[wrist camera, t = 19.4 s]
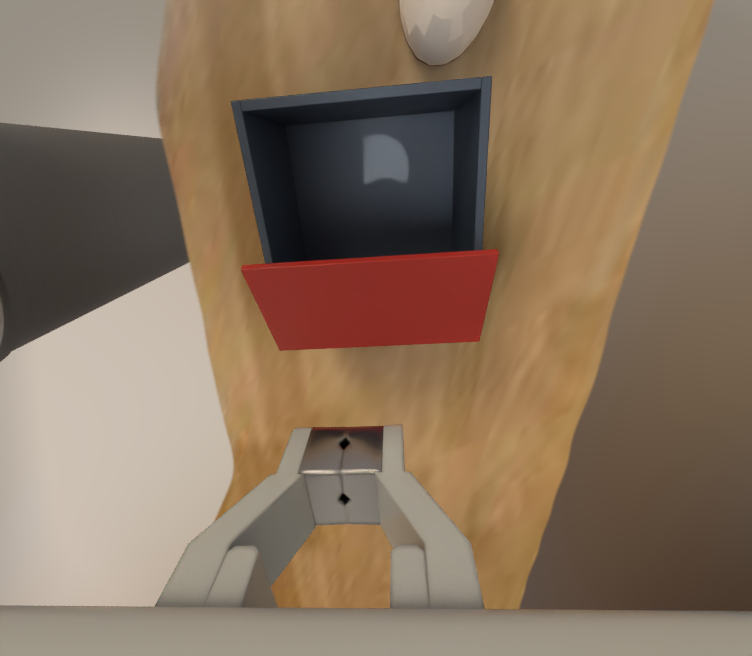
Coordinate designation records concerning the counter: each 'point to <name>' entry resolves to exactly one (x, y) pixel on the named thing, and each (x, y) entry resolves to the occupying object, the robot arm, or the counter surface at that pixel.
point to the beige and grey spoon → (442, 27)
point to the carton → (368, 169)
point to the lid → (375, 299)
